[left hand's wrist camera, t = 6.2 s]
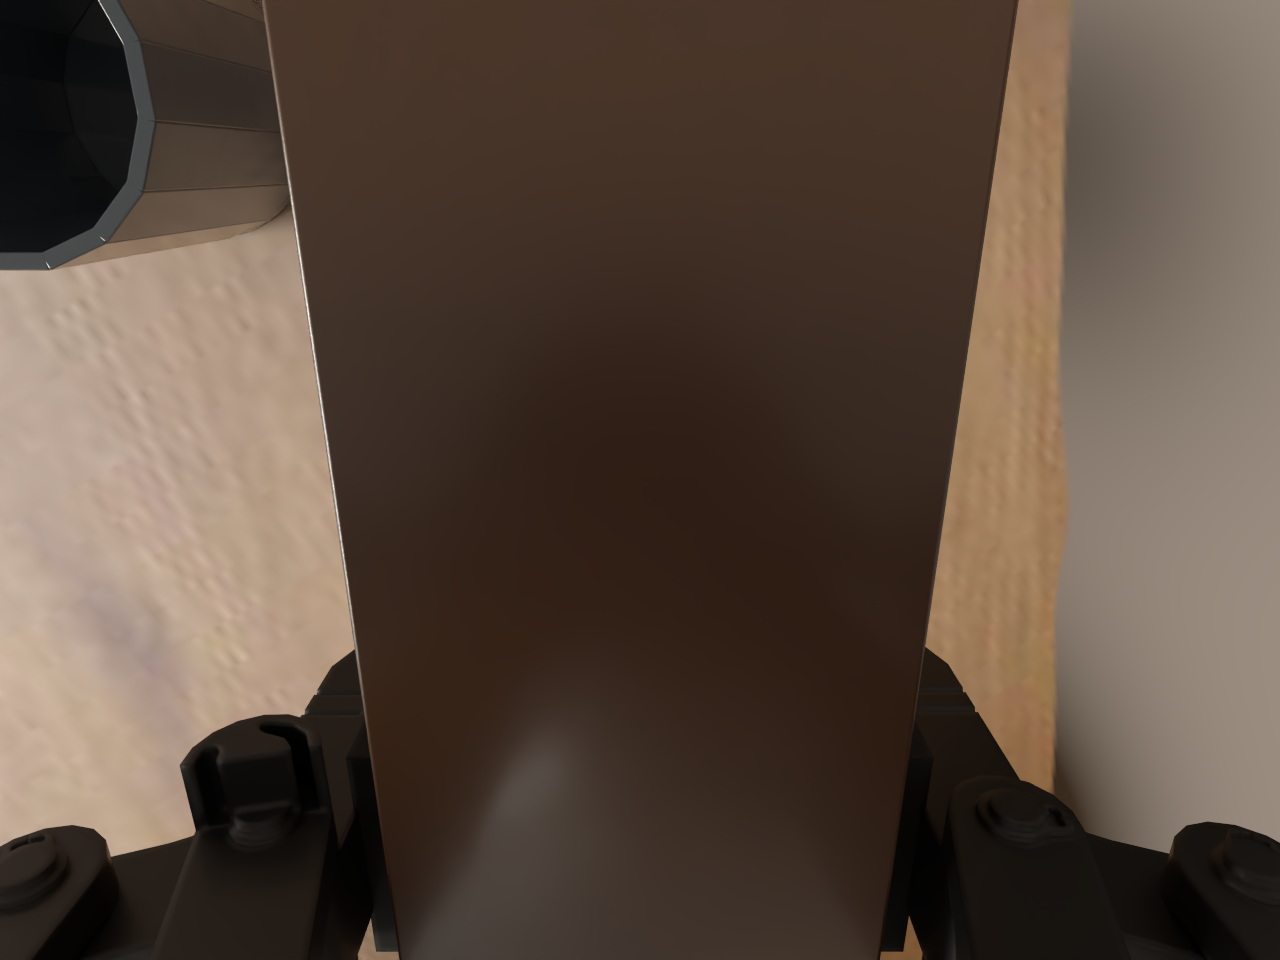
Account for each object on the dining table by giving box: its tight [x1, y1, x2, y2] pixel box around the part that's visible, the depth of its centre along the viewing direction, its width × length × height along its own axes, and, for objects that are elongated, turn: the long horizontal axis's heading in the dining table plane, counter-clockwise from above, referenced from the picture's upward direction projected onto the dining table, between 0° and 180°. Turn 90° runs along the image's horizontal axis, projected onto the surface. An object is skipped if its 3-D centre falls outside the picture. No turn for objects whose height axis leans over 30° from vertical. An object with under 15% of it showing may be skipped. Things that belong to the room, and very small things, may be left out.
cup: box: [0, 0, 291, 270], centre depth 21 cm, size 8×8×9 cm
